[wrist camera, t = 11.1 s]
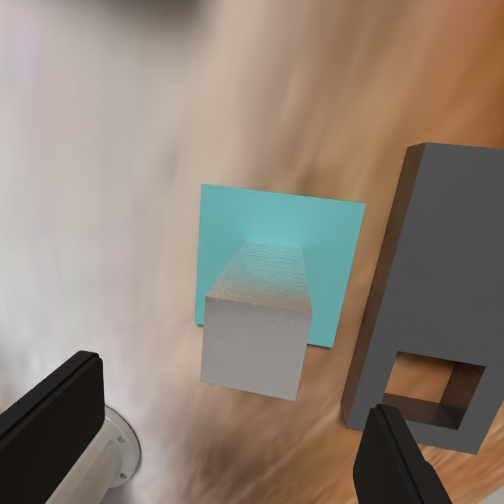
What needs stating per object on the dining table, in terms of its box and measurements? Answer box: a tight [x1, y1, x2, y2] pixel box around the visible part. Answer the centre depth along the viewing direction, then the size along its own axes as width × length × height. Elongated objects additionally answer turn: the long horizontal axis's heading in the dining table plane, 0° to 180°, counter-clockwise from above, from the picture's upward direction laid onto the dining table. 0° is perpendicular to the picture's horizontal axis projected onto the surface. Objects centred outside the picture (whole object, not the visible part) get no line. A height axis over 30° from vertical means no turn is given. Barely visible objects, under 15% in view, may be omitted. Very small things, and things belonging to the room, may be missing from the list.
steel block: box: [200, 240, 313, 401], centre depth 16 cm, size 4×4×10 cm
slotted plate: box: [341, 142, 504, 455], centre depth 19 cm, size 22×10×2 cm, turn 174°
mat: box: [195, 184, 366, 348], centre depth 21 cm, size 12×12×1 cm
